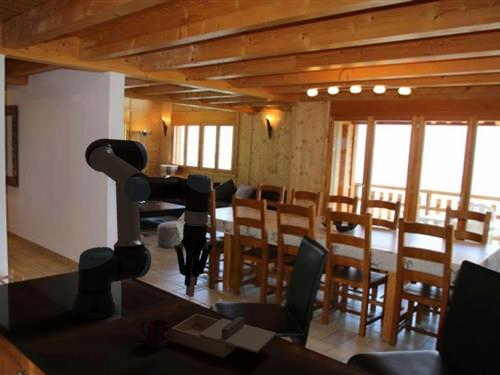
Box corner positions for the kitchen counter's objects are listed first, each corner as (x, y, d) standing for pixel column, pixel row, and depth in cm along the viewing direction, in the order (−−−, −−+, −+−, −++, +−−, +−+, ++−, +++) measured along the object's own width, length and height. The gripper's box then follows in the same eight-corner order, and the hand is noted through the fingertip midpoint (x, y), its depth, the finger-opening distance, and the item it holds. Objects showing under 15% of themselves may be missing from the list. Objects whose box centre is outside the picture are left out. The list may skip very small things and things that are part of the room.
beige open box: (170, 341, 142) (171, 328, 141) (195, 325, 155) (196, 313, 155) (224, 358, 133) (225, 344, 133) (245, 340, 147) (246, 327, 147)
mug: (157, 350, 135) (158, 329, 134) (135, 340, 140) (136, 320, 140) (172, 343, 140) (173, 323, 140) (150, 334, 146) (152, 314, 145)
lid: (199, 335, 137) (200, 324, 136) (222, 320, 150) (223, 309, 150) (256, 352, 128) (257, 341, 128) (276, 334, 142) (276, 323, 142)
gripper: (182, 226, 131) (176, 302, 133) (219, 225, 138) (213, 296, 141) (171, 221, 137) (166, 293, 139) (208, 220, 144) (202, 289, 147)
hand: (189, 295), depth 140 cm, fingers closed
